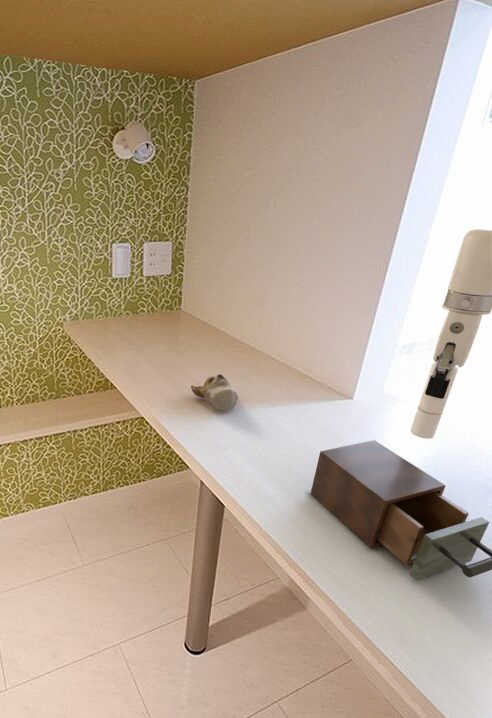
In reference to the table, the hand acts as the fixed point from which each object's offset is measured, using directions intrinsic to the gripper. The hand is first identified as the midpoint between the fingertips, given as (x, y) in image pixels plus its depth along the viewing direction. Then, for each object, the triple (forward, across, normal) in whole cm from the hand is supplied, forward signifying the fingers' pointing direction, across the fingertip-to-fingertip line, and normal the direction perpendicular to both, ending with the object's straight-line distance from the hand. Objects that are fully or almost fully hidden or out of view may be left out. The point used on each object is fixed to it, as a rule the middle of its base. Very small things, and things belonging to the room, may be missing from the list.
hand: (436, 391), depth 87 cm
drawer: (+15, -30, -6) cm, 35 cm away
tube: (+10, 0, 0) cm, 10 cm away
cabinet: (+16, -25, +3) cm, 30 cm away
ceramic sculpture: (+16, -6, +46) cm, 49 cm away
